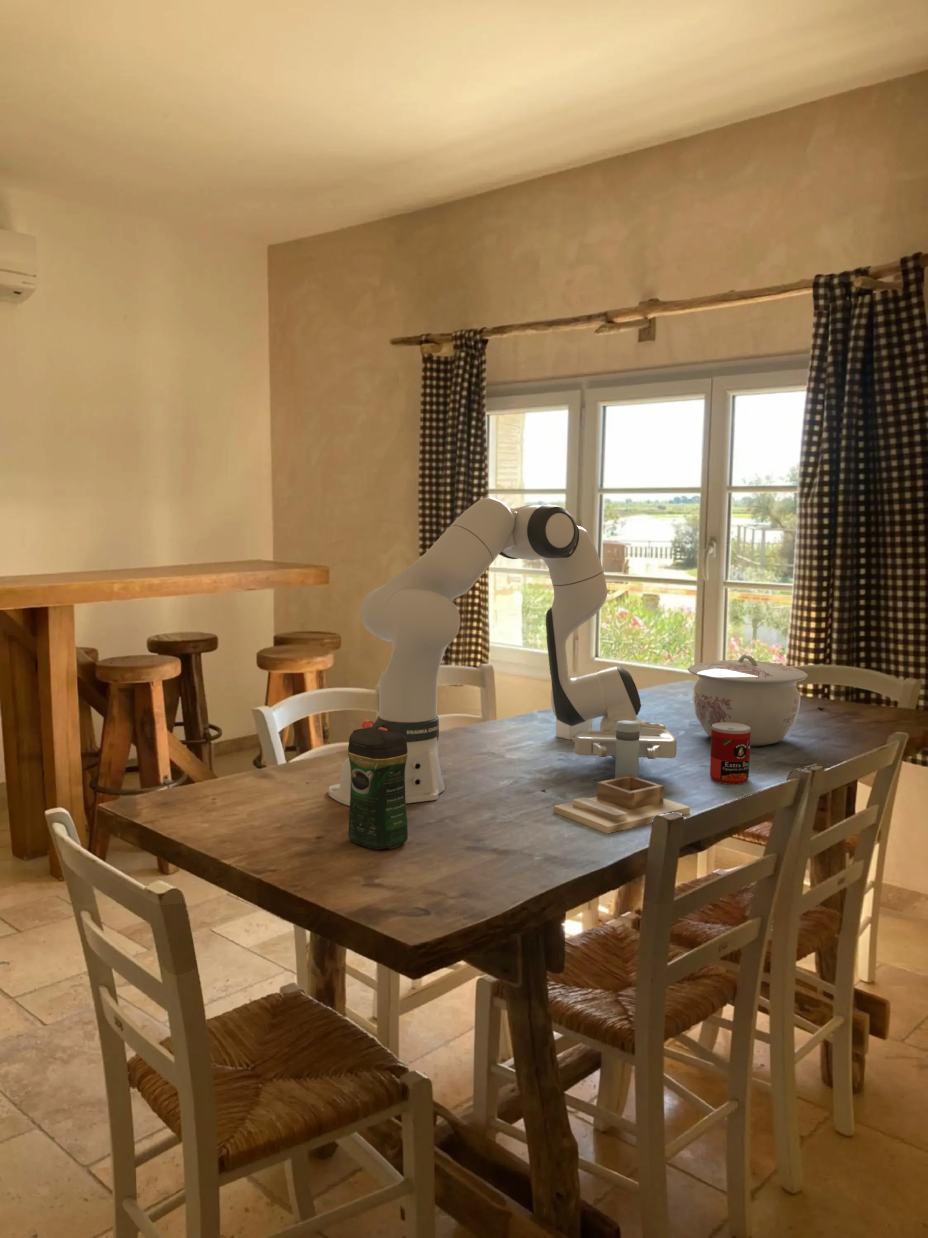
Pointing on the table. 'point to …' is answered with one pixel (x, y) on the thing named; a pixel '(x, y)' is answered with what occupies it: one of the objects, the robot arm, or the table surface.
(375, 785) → the coffee jar
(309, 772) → the table surface
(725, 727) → the canned food
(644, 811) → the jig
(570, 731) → the jar
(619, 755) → the insulated water bottle
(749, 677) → the chamber pot
